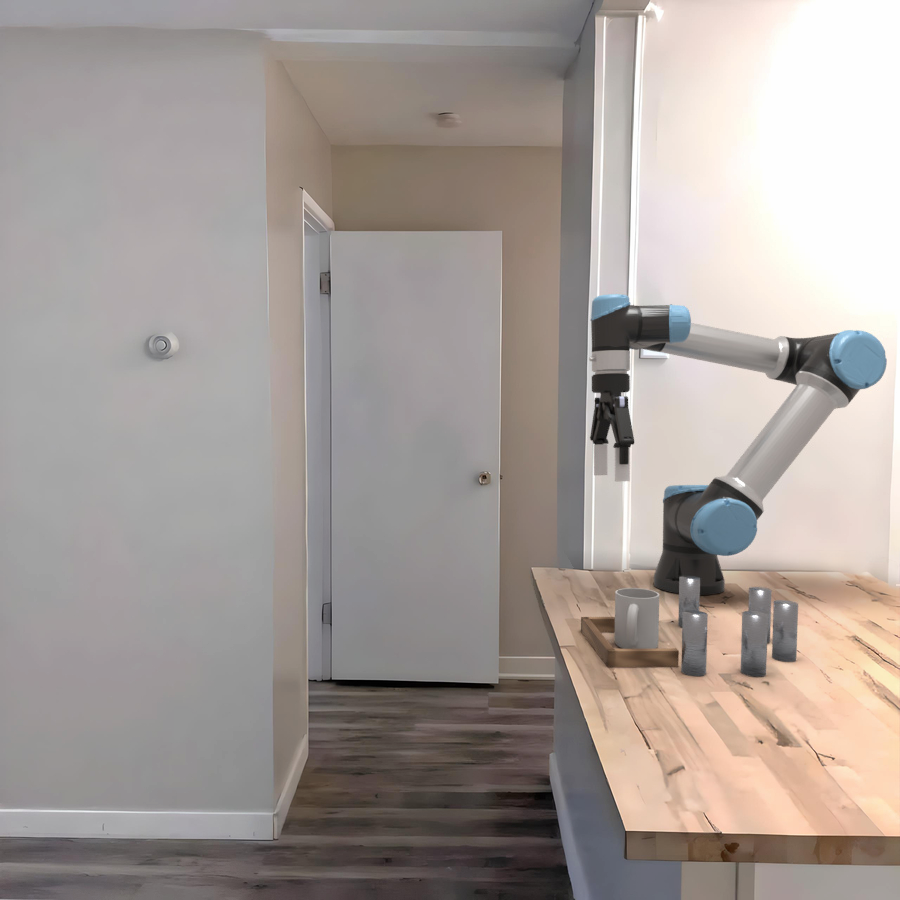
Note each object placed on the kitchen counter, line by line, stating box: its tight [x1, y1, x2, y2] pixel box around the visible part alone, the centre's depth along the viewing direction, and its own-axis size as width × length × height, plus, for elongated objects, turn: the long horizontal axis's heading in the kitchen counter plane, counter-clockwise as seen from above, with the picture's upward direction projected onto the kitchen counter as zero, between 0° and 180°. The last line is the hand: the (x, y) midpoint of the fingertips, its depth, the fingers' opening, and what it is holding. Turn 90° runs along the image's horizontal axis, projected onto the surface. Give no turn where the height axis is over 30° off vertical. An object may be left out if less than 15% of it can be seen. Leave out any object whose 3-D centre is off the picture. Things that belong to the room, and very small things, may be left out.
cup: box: [614, 587, 660, 649], centre depth 126 cm, size 7×10×9 cm
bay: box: [580, 616, 680, 668], centre depth 126 cm, size 11×19×2 cm, turn 3°
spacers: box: [677, 576, 799, 678], centre depth 126 cm, size 21×28×9 cm
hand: (611, 478), depth 153 cm, fingers open, 13 cm apart
